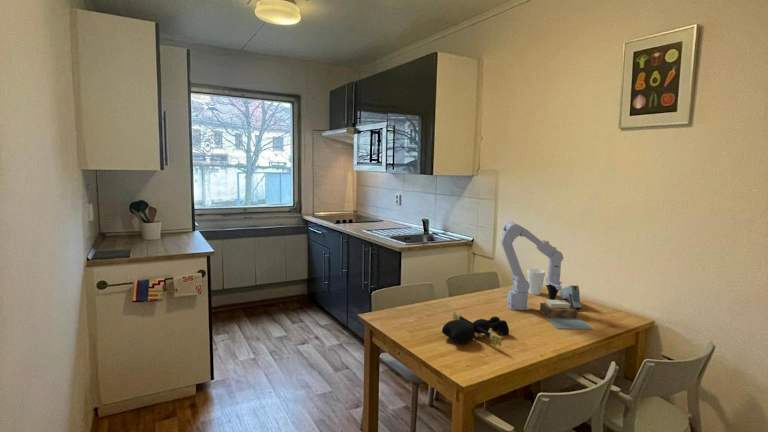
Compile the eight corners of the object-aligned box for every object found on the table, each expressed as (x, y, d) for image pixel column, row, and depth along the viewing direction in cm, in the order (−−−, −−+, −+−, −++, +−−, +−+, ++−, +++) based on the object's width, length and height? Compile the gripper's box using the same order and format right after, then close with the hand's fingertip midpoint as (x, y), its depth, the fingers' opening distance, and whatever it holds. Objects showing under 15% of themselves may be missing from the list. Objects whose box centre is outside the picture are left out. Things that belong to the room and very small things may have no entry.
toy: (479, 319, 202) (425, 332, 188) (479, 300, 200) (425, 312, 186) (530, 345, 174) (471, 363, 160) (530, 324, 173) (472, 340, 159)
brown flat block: (547, 317, 205) (548, 309, 204) (539, 310, 215) (540, 302, 214) (576, 318, 205) (577, 310, 205) (567, 311, 215) (568, 303, 214)
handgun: (567, 311, 233) (565, 289, 236) (582, 308, 215) (579, 284, 219) (560, 311, 233) (558, 289, 236) (575, 308, 215) (572, 284, 219)
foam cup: (525, 289, 249) (527, 268, 248) (542, 291, 247) (544, 269, 245) (526, 294, 240) (528, 272, 239) (544, 296, 238) (545, 273, 236)
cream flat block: (551, 307, 207) (551, 303, 207) (546, 303, 213) (546, 299, 213) (569, 308, 207) (569, 304, 207) (564, 303, 213) (564, 300, 213)
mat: (557, 328, 191) (557, 328, 191) (546, 318, 204) (546, 317, 204) (593, 329, 192) (593, 328, 192) (579, 318, 205) (579, 318, 205)
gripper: (568, 277, 208) (566, 304, 210) (555, 269, 223) (554, 295, 224) (554, 277, 208) (552, 304, 210) (542, 269, 222) (540, 294, 224)
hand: (552, 299), depth 217 cm, fingers closed
